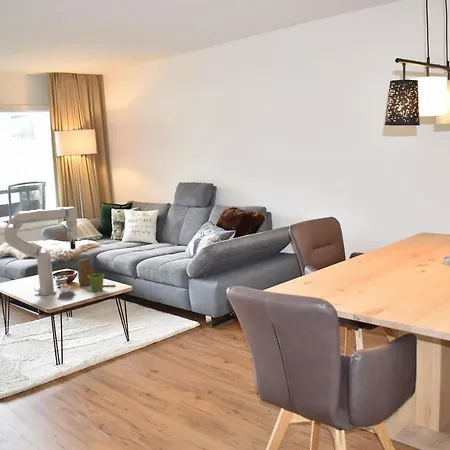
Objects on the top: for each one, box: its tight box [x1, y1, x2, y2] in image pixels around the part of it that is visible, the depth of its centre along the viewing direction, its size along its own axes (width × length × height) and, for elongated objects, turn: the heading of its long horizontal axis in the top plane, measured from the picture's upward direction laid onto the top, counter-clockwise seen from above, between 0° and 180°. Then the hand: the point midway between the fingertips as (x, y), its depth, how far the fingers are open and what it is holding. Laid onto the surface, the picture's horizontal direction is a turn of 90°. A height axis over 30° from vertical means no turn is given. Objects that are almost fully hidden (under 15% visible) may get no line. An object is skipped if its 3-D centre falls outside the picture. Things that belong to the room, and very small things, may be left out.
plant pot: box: [88, 273, 105, 293], centre depth 394 cm, size 12×12×11 cm
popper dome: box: [60, 283, 72, 293], centre depth 381 cm, size 6×6×8 cm
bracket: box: [103, 284, 116, 288], centre depth 404 cm, size 15×3×1 cm, turn 91°
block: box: [77, 258, 95, 287], centre depth 412 cm, size 11×8×20 cm
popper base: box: [57, 289, 76, 300], centre depth 382 cm, size 10×10×4 cm
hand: (73, 248), depth 396 cm, fingers closed
